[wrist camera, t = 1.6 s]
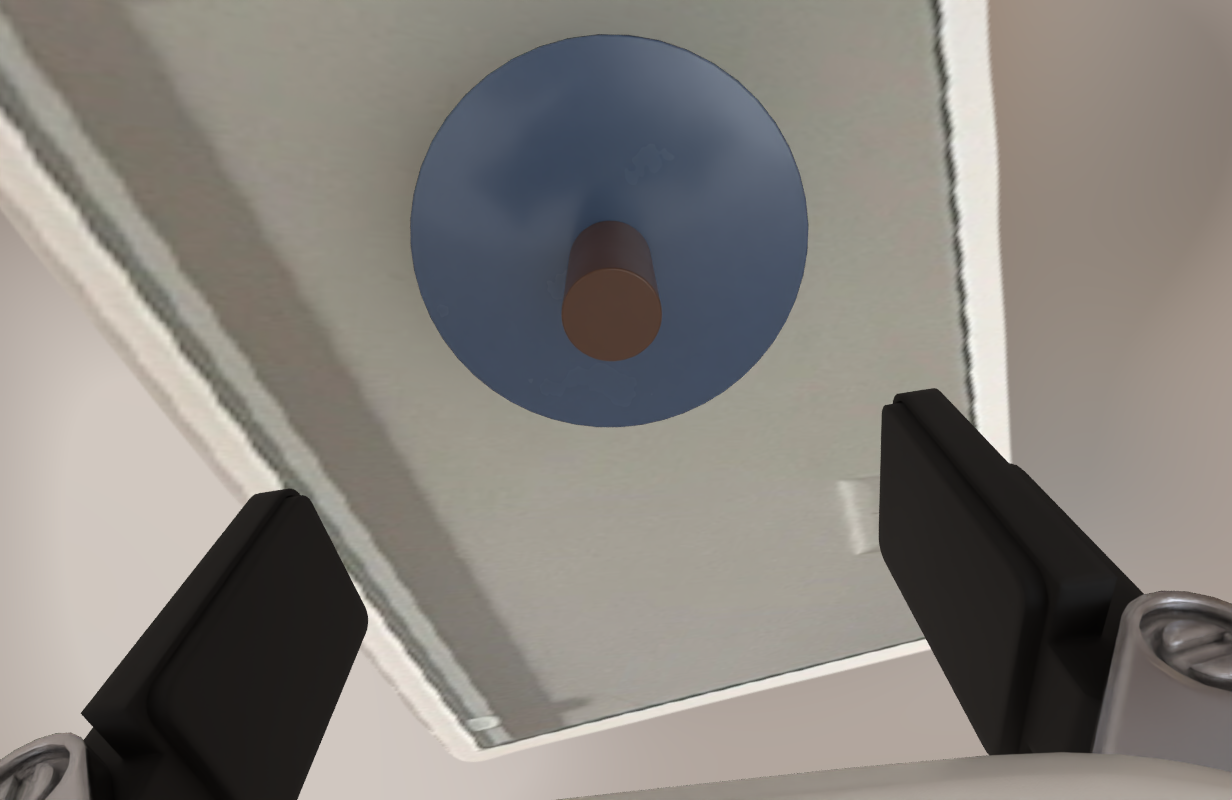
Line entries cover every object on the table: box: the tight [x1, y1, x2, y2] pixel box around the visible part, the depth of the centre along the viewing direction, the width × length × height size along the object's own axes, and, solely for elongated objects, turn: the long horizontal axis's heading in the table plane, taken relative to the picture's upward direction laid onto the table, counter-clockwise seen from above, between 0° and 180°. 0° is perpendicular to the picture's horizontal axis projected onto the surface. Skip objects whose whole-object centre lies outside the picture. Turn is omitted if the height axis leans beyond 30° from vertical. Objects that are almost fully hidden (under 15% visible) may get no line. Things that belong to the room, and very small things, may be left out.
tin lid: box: [410, 34, 808, 427], centre depth 21 cm, size 14×14×6 cm
